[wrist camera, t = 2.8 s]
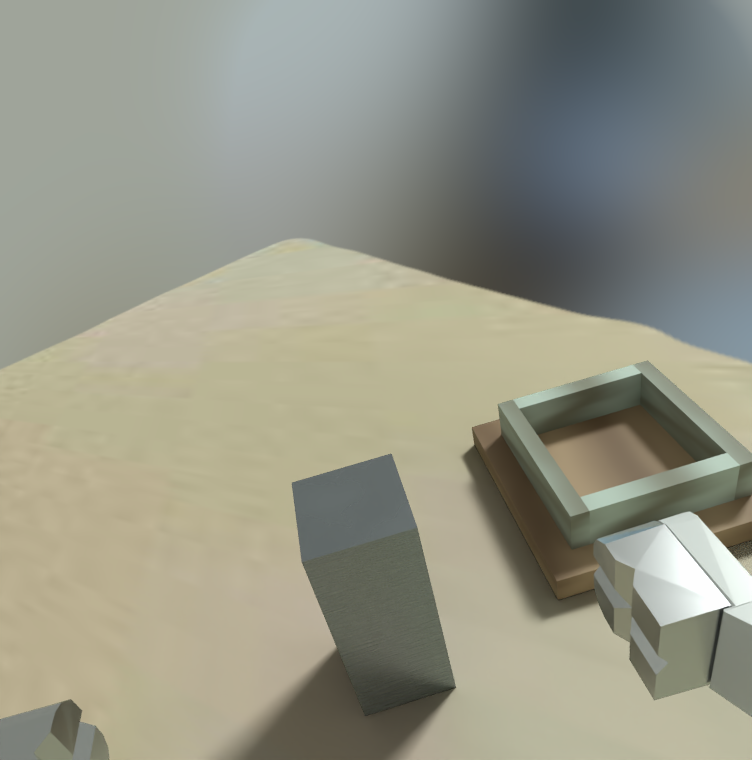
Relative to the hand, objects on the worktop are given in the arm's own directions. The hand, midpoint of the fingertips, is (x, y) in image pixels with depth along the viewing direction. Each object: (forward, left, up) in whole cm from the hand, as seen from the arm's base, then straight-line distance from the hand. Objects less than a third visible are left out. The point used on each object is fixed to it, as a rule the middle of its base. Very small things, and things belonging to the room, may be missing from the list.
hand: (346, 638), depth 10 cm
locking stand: (+15, +19, -20) cm, 32 cm away
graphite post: (0, +12, -20) cm, 23 cm away
